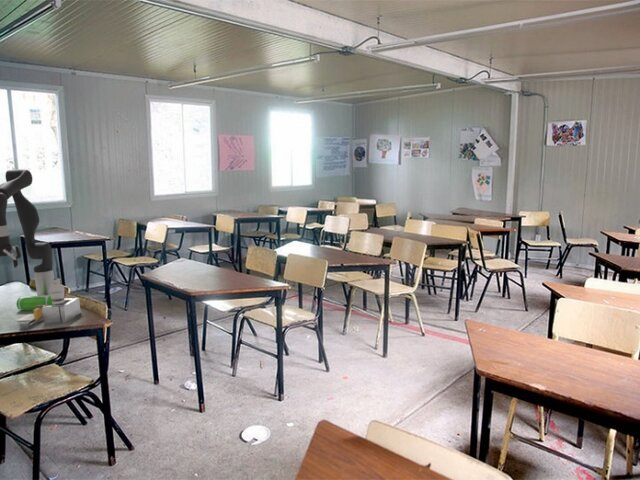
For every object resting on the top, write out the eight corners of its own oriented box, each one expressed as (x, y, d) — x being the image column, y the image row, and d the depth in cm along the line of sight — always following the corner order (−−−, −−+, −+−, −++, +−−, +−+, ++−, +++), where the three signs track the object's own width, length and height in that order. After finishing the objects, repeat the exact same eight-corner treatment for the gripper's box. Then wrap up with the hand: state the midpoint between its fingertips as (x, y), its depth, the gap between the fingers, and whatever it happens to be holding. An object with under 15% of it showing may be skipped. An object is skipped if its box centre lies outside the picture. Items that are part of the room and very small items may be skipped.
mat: (28, 315, 244) (28, 314, 244) (43, 314, 245) (43, 313, 244) (17, 321, 235) (16, 320, 235) (32, 321, 235) (32, 319, 235)
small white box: (46, 314, 245) (44, 299, 244) (80, 312, 245) (78, 297, 244) (20, 329, 223) (17, 313, 221) (57, 328, 223) (55, 311, 222)
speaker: (57, 306, 258) (55, 293, 257) (50, 310, 251) (48, 297, 250) (24, 308, 258) (23, 294, 256) (16, 312, 251) (14, 298, 249)
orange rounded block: (42, 316, 241) (41, 303, 239) (48, 316, 241) (46, 303, 239) (33, 321, 233) (31, 308, 232) (39, 321, 233) (37, 307, 232)
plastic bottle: (50, 318, 238) (45, 279, 234) (65, 315, 242) (60, 276, 239) (55, 321, 233) (50, 281, 230) (70, 317, 238) (65, 278, 235)
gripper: (18, 232, 231) (23, 264, 234) (-17, 235, 225) (-11, 268, 228) (15, 234, 224) (21, 268, 227) (-21, 238, 219) (-15, 272, 222)
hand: (5, 268), depth 228 cm, fingers open, 8 cm apart
